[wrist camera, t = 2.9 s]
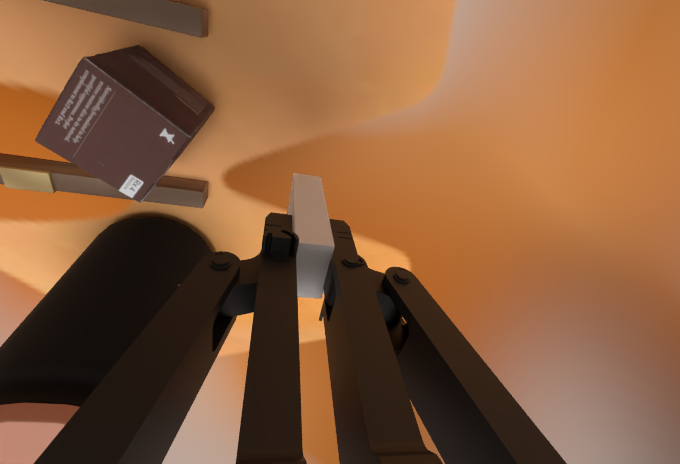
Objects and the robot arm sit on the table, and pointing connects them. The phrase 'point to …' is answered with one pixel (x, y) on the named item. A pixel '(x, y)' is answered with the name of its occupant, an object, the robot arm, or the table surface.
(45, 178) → the brown angular bar frame
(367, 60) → the table surface
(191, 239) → the coffee jar
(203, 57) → the table surface
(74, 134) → the box
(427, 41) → the table surface
